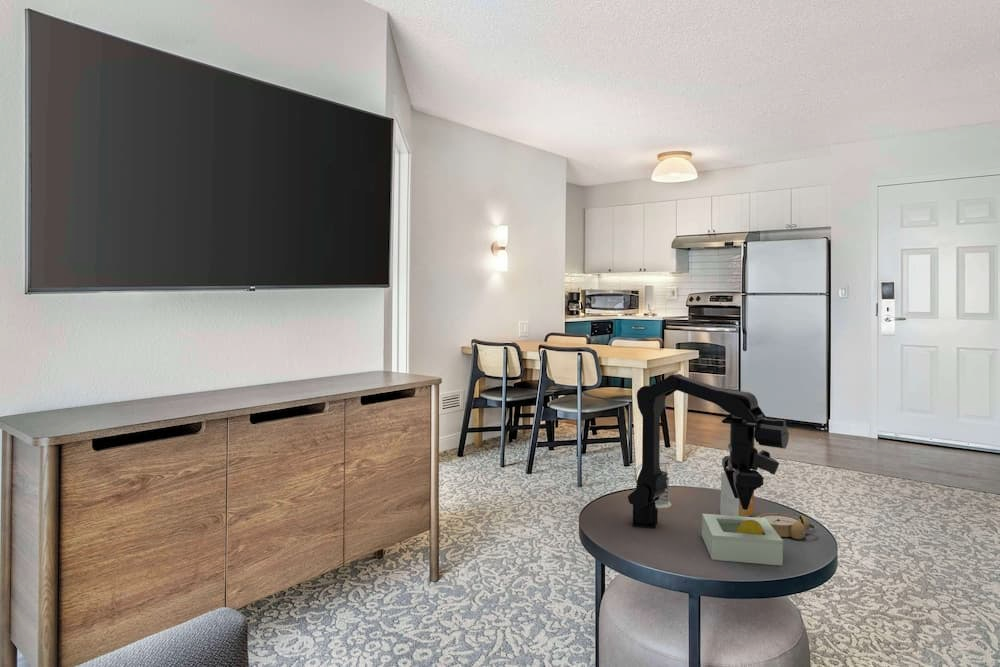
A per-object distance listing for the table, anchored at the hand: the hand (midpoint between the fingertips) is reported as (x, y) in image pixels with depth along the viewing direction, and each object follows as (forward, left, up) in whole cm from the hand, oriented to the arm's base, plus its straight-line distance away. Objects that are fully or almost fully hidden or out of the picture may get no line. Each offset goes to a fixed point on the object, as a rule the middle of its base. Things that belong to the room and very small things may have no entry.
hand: (740, 503), depth 148 cm
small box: (+5, +28, -12) cm, 31 cm away
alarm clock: (+15, +16, -12) cm, 25 cm away
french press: (-19, +34, -12) cm, 41 cm away
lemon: (0, 0, -10) cm, 10 cm away
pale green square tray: (0, 0, -12) cm, 12 cm away
